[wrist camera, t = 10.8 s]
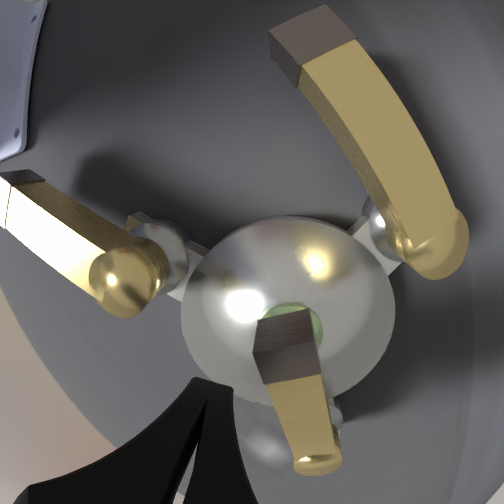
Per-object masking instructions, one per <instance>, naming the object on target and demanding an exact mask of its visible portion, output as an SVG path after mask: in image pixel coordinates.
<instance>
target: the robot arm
mask: <svg viewBox="0 0 504 504" xmlns="http://www.w3.org/2000/svg"><path fill="white" fill-rule="evenodd" d="M46 6H47V1H45V0H40V1H39V2H37V3H36V4H34V5H31V4H29V3H26V2H24V1H22V0H0V161H2V160H4V159H7V158H9V157H11V156H14V155H16V154H18V153H21V152H22V151H23V150H24V149H25V146H26V142H27V116H28V101H29V91H30V82H31V75H32V68H33V62H34V56H35V51H36V46H37V41H38V37H39V32H40V28H41V24H42V20H43V17H44V13H45V10H46ZM233 392H234V389H233V388H232V387H231V386H227V385H223V384H219V383H216V382H212V381H209V380H205V379H202V378H198V377H194V378H192V379H191V381H190V382H189V384H188V385H187V386H186V388H185V389H184V390H183V392H182V393H181V394H180V395H179V396H178V397H177V399H176V400H175V401H174V402H173V403H172V404H171V405H170V406H169V407H168V408H167V409H166V410H165V411H164V412H163V413H162V414H161V415H160V416H159V417H158V418H157V419H156V420H155V421H153V422H152V423H151V424H150V425H149V426H148V427H146V428H145V429H144V430H143V431H142V432H140V433H139V434H138V435H137V436H135V437H134V438H133V439H131V440H130V441H128V442H127V443H126V444H124V445H123V446H121V447H120V448H118V449H116V450H115V451H113V452H112V453H110V454H108V455H106V456H105V457H103V458H101V459H100V460H97V461H95V462H94V463H92V464H89V465H87V466H85V467H83V468H80V469H78V470H76V471H73V472H71V473H69V474H66V475H63V476H61V477H57V478H54V479H51V480H47V481H43V482H39V483H36V484H32V485H29V486H28V487H27V488H26V489H25V490H24V491H23V492H22V493H21V494H20V495H19V496H18V497H17V499H16V500H15V502H14V503H13V504H173V501H174V498H175V495H176V492H177V490H178V487H179V485H180V482H181V480H182V478H183V476H184V473H185V471H186V469H187V466H188V464H189V462H190V459H191V457H192V455H193V452H194V450H195V448H196V445H197V443H198V445H197V451H196V456H195V462H194V467H193V472H192V476H191V479H190V482H189V485H188V489H187V492H186V495H185V498H184V501H183V504H258V502H257V500H256V497H255V495H254V493H253V490H252V488H251V485H250V482H249V480H248V477H247V474H246V471H245V468H244V464H243V461H242V457H241V453H240V449H239V445H238V440H237V434H236V429H235V422H234V412H233Z"/></svg>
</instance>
